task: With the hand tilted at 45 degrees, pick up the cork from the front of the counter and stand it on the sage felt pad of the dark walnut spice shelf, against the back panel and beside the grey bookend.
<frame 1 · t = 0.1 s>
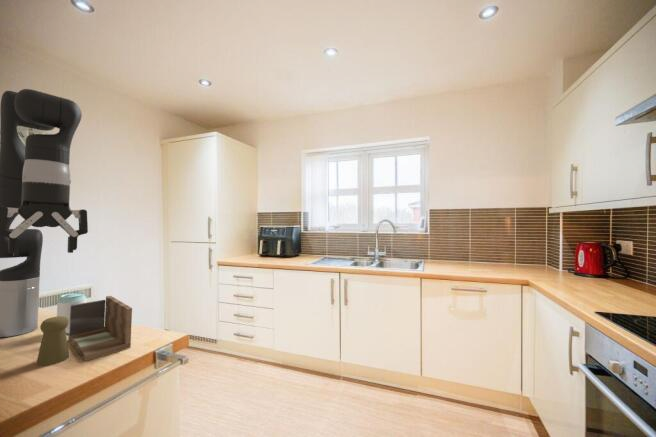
hand: (44, 253, 61), 29 cm above the counter, tool pointing down, fingers open, 8 cm apart
cork: (53, 360, 71), on the counter
can: (71, 331, 89), on the counter
spice shelf: (98, 343, 81), on the counter
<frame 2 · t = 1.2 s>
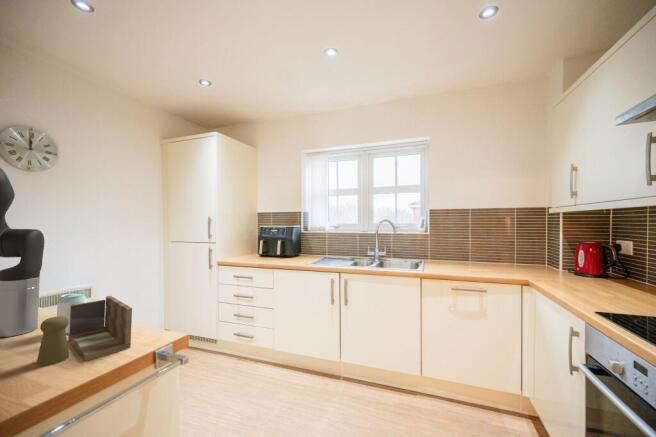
nothing on the counter moved.
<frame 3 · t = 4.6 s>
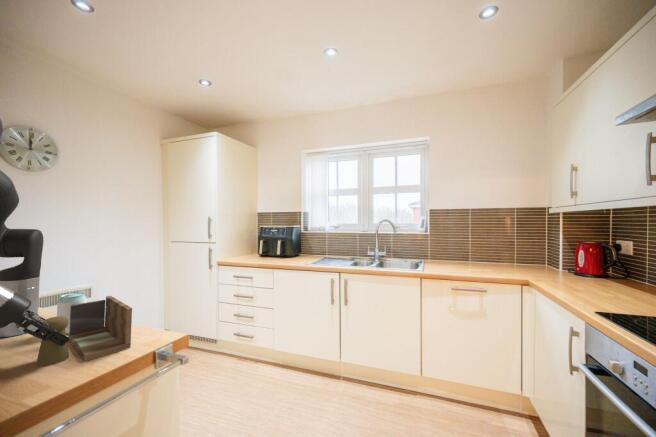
hand: (63, 339, 72), 5 cm above the counter, tool tilted 45°, fingers closed on cork, 4 cm apart
cork: (53, 360, 71), on the counter, touching gripper
everything else where it was.
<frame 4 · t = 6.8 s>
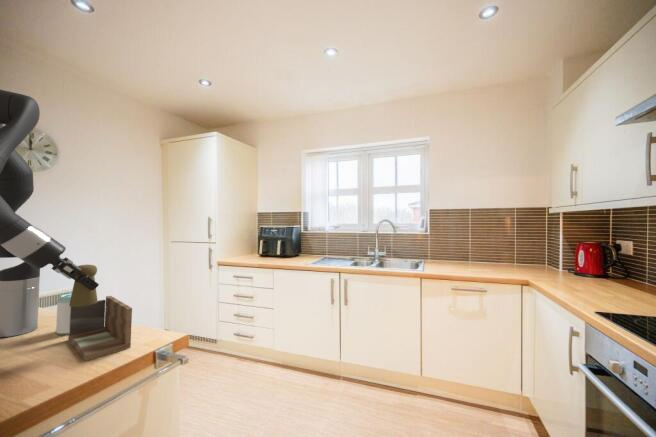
hand: (93, 285, 79), 18 cm above the counter, tool tilted 45°, fingers closed on cork, 4 cm apart
cork: (83, 304, 77), point 13 cm above the counter, touching gripper
everything else where it was.
when the fingers open (8 cm above the counter, at t = 9.5 s): cork drops 1 cm, resting on spice shelf.
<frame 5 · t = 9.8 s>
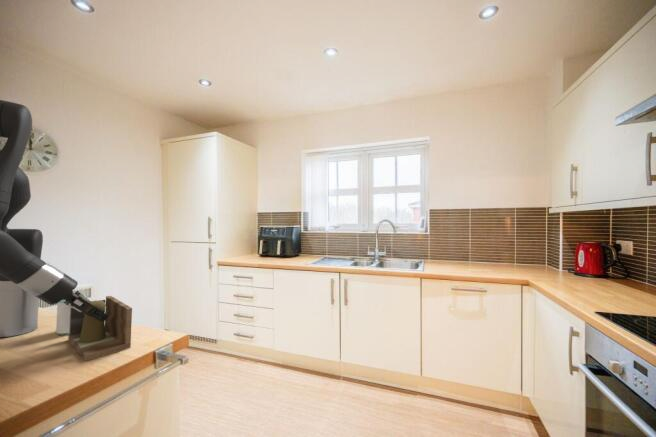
hand: (101, 315, 81), 8 cm above the counter, tool tilted 45°, fingers open, 7 cm apart
cork: (92, 339, 80), point 2 cm above the counter, touching spice shelf
everything else where it was.
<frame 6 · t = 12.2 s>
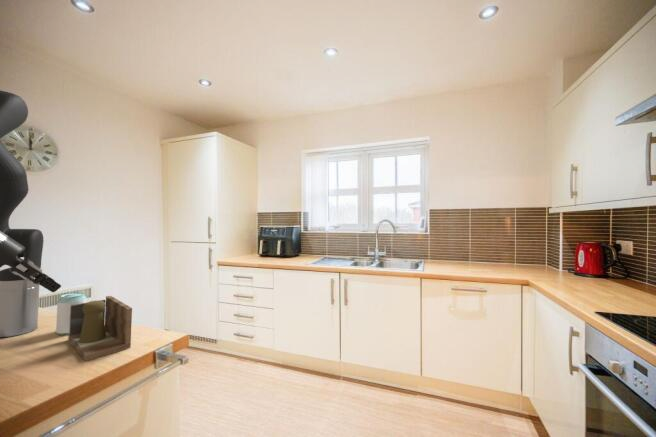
hand: (54, 286, 73), 19 cm above the counter, tool tilted 45°, fingers open, 8 cm apart
nothing on the counter moved.
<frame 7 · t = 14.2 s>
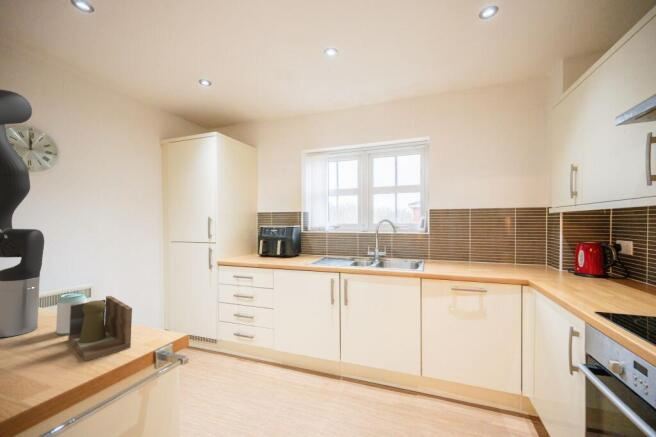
hand: (17, 249, 70), 29 cm above the counter, tool tilted 45°, fingers open, 8 cm apart
nothing on the counter moved.
at the end: cork 0.7 cm from the target spot, point 1.5 cm above the counter; cork tilted 0°; the gripper is holding nothing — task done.
